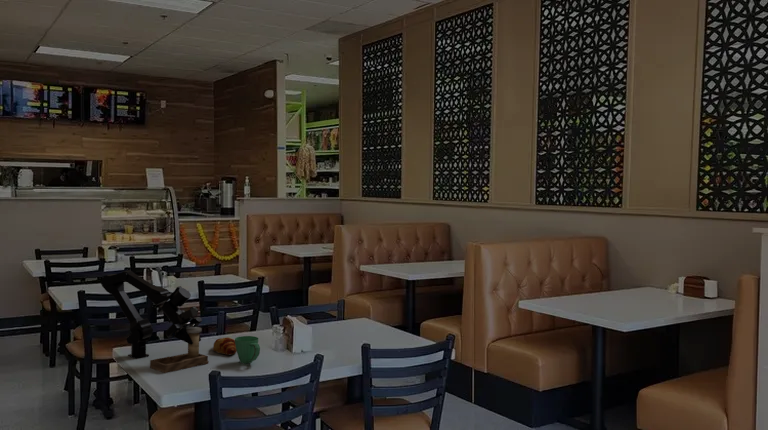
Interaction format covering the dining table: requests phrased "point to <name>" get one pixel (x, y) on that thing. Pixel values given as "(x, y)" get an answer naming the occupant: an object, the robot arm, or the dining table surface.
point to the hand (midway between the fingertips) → (196, 342)
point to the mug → (247, 348)
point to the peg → (194, 335)
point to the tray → (177, 362)
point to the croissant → (225, 346)
